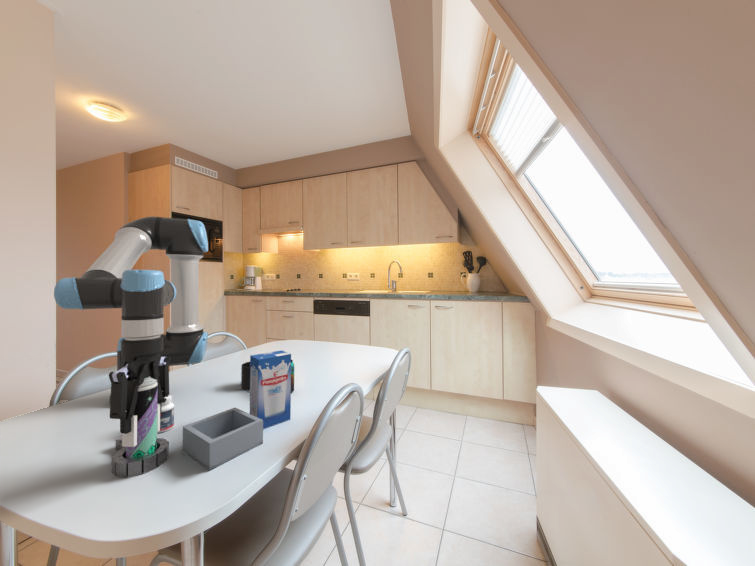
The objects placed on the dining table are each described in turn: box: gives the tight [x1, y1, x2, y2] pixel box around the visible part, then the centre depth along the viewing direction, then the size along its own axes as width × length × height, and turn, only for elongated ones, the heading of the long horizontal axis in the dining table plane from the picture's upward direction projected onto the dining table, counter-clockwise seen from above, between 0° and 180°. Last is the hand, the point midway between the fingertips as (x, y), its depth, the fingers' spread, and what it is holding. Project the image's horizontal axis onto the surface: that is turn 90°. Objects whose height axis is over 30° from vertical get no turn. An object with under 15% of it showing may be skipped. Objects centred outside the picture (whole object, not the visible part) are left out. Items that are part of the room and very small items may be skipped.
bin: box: [182, 407, 264, 471], centre depth 72 cm, size 13×13×6 cm
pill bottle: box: [157, 394, 175, 434], centre depth 81 cm, size 5×5×9 cm
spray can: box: [126, 375, 158, 459], centre depth 65 cm, size 6×6×20 cm
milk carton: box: [249, 349, 292, 430], centre depth 86 cm, size 10×6×20 cm, turn 135°
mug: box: [240, 361, 250, 391], centre depth 113 cm, size 9×12×9 cm
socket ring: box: [111, 435, 170, 479], centre depth 68 cm, size 17×10×3 cm, turn 56°
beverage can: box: [291, 359, 295, 394], centre depth 108 cm, size 7×7×12 cm
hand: (142, 437), depth 65 cm, fingers closed on spray can, 5 cm apart
